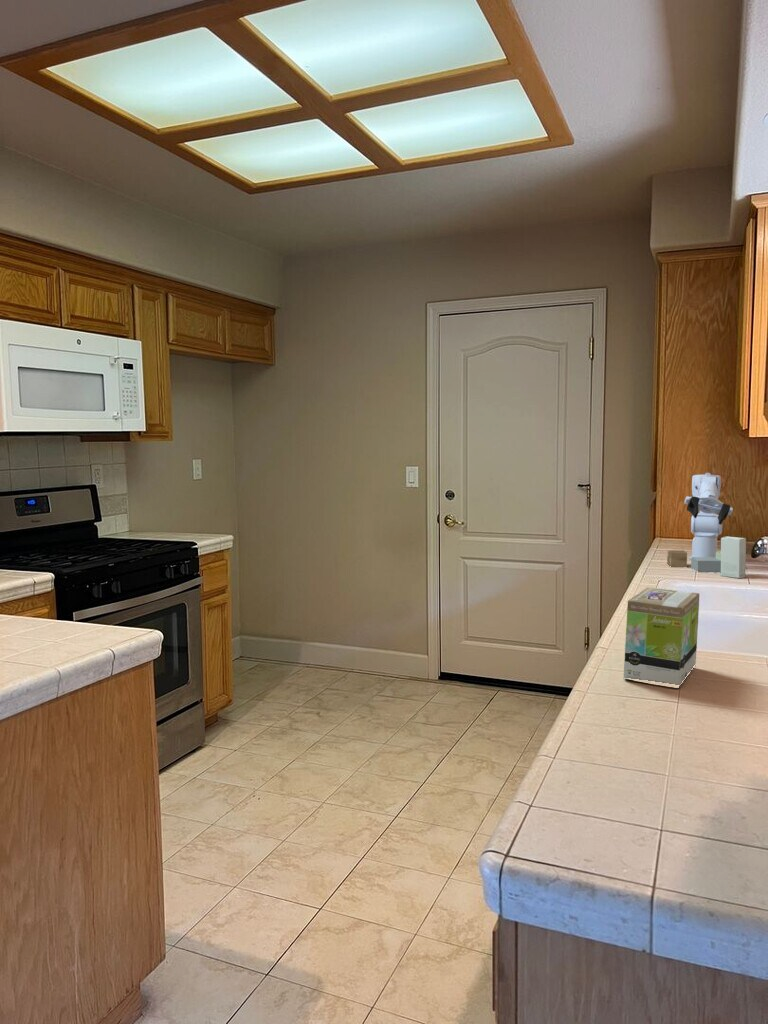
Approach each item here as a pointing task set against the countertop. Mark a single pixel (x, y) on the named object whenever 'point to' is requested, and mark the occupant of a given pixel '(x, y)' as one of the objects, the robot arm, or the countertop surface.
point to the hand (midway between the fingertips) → (708, 518)
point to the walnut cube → (677, 558)
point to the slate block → (705, 564)
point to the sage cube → (718, 555)
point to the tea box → (661, 635)
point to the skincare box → (733, 557)
